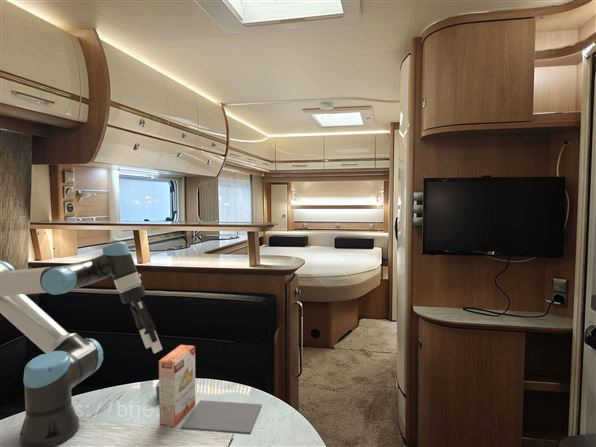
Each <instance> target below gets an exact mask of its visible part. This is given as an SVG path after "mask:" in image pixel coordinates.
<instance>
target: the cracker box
mask: <svg viewBox="0 0 596 447" xmlns="http://www.w3.org/2000/svg"><path fill="white" fill-rule="evenodd" d="M158 382H159V400H158V401H159V425H160V426H161V425H162V426H170V427H176V426H177V425H178V424H179V423H180V422H181V420H182V419H184V417H185V416H186V415H187V414H188V413H189V411H190V410H191V409H192V408H193V407H194V406H196V346H194V345H189V344H188V345H186V344H180V345H178V346H177V347H176V348H174V349H173V350H171V351H170V352H169V353H167V355H165V356H163V357H162V358H161V359H160V360H158Z"/></svg>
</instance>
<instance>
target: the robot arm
mask: <svg viewBox="0 0 596 447" xmlns="http://www.w3.org/2000/svg"><path fill="white" fill-rule="evenodd" d="M109 277H112V279H113V282H114V285H115V288H116V290H117V292H119V298H120V300H121V302H122V304H123V305H124V304H129V306H130V311H131V312H132V316H133V319H134V321H135V326H136V328H137V329H138V331H139V334H140V337H141V339H142V342H143V344H144V347H145V349H149V348H151V350H152V353H153V354H156V353H158V352H160V351H162V350H163V346H162V344H161V341H160V338H159V337H158V334H157V330H156V328H157V327H156V325H155V323H154V321H153V320H152V317H151V316H150V313H149V311H148V309H147V307H146V304H145V301H144V300H141V298H143V297H145V296H146V295H147V292H146V289H145V288H144V285H142V280H141V277H142V274H141V273H139V272H138V269H137V267H136V264H135V262H134V258H133V256H132V252H131V250H130V249H129V246H128V244H127V242H125V241H117V242H114V243H111V244H109V245H106V246H104V247H102V254H101V255H99V256H96V257H93V258H90V259H87V260H83V261H79V262H75V263H72V264H68V265H67V264H65V265H59V266H48V267H47V266H46V267H37V268H34V267H33V268H23V269H15V268H14V266H12V265H11V263H8V262H6V261H4V260H0V314H1V315H2V316H3V317H5V318H6V319H7V320H8V321H9V322H10V323H11V324H12V325H14V327H16V329H18V330H19V331H20V332H21V333H22V334H24V335H25V337H27V338H28V339H29V340H30V341H31V342H32V343H33V344H35V345H36V346H37V348H39V349H40V350H41V351H43V354H39V355H38V356H36V357H34V358H32V359H31V360H30V361H29V362H27V363H26V365H25V367H24V371H23V380H22V381H23V387H24V388H23V389H24V403H25V404H24V405H25V406H24V407H25V416H24V420H23V423H22V425H21V430H20V433H19V437H18V438H19V445H20V446H21V447H54V446H57V445H59V444H62V443H64V442H66V441H67V440H69V439H71V438H72V437H73V436H74V435H75V434H76V433H78V431H79V428H80V419H79V416H78V415H77V414H76V411H75V408H74V406H73V403H72V401H73V400H72V389H73V388H74V387H76V385H78V384H80V383H81V382H82V381H84V380H85V379H87V378H88V377H90V376H92V375H93V374H94V373H95V372H96V371H97V370H98V369H99V368H100V367H101V365H102V363H103V361H104V351H103V350H104V349H103V348H102V346H101V344H100V343H99V342H98V340H96V339H94V338H88V337H87V338H83V337H82V336H80V335H79V334H78V333H76V332H73V333H71V332H68V331H67V330H66V329H65V328H64V327H62V326H61V325H60V324H59V323H58V322H57V321H55V319H53V318H52V317H51V316H50V315H49V314H48V313H47V312H45V311H44V310H43V309H42V308H41V307H39V305H38V304H37V303H36V302H34V301H33V300H32V299H31V298H29V296H27V295H35V294H45V293H46V294H47V293H48V294H50V295H52V296H53V295H54V296H56V295H61V294H62V295H63V294H66V293H69V292H71V291H73V290H76V289H78V288H82V287H84V286H88V285H92V284H94V283H96V282H99V281H101V280H105V279H107V278H109Z"/></svg>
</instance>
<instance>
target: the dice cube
mask: <svg viewBox="0 0 596 447" xmlns="http://www.w3.org/2000/svg"><path fill="white" fill-rule="evenodd" d="M155 392H156V395H155V396H156V397H155V398H156V401H159V381H158V383H157V384H156V386H155Z"/></svg>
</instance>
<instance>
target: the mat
mask: <svg viewBox="0 0 596 447" xmlns="http://www.w3.org/2000/svg"><path fill="white" fill-rule="evenodd" d="M262 404H263V403H261V404H260V403H245V402H232V401H231V402H229V401H215V400H203V399H201V400H199V402H198V403H197V404H195V407H194V408H193V409H192V411H191V413H190V414H189V416H188V417H187V418H186V419H185V421H184V423H182V425H181V426H180V429H184V430H185V429H186V430H199V431H201V430H202V431H214V432H222V433H223V432H225V433H239V434H251V433H252V431H253V427H254V426H255V423H256V420H257V418H258V415H259V413H260V410H261V409H262Z"/></svg>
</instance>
